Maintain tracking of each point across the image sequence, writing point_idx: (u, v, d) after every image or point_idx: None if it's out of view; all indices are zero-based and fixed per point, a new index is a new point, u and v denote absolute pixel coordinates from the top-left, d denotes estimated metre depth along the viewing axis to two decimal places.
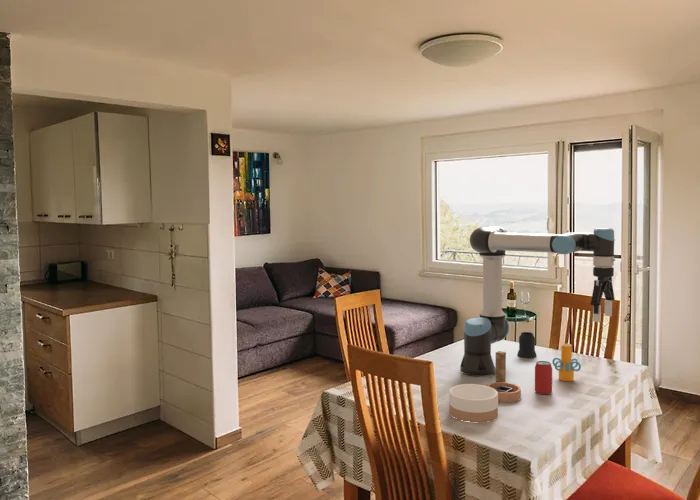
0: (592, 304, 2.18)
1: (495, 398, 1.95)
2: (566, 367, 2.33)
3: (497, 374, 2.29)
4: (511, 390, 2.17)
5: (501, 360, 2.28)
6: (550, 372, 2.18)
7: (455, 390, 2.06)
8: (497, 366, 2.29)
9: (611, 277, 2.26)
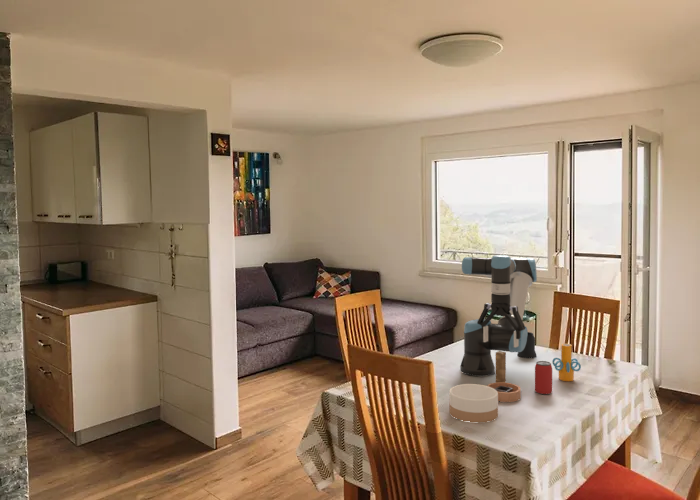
0: None
1: (495, 398, 1.95)
2: (566, 367, 2.33)
3: (497, 374, 2.29)
4: (511, 390, 2.17)
5: (501, 360, 2.28)
6: (550, 372, 2.18)
7: (455, 390, 2.06)
8: (497, 366, 2.29)
9: (513, 307, 2.22)
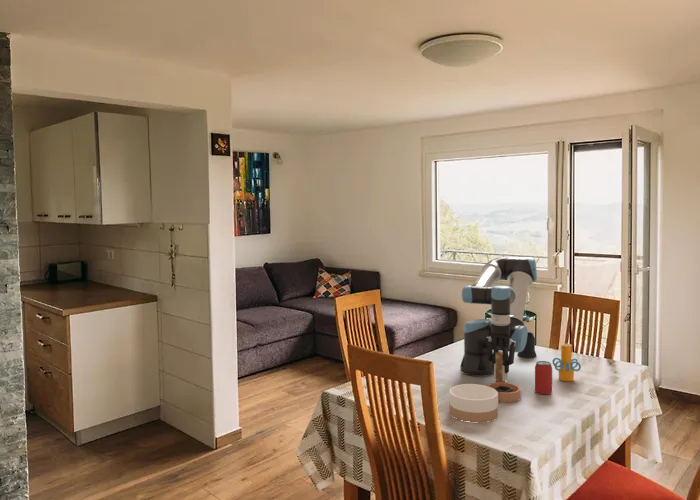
0: None
1: (495, 398, 1.95)
2: (566, 367, 2.33)
3: (497, 374, 2.29)
4: (511, 390, 2.17)
5: (501, 360, 2.28)
6: (550, 372, 2.18)
7: (455, 390, 2.06)
8: (497, 366, 2.29)
9: (512, 342, 2.24)
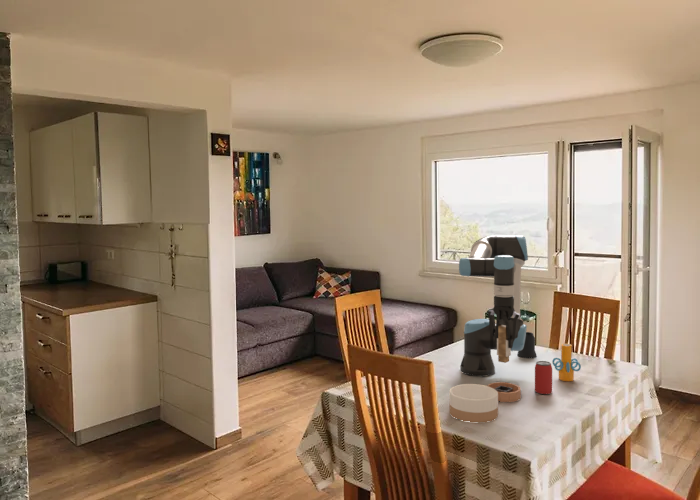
0: None
1: (495, 398, 1.95)
2: (566, 367, 2.33)
3: (500, 349, 2.15)
4: (511, 390, 2.17)
5: (504, 334, 2.13)
6: (550, 372, 2.18)
7: (455, 390, 2.06)
8: (500, 341, 2.15)
9: (517, 315, 2.10)
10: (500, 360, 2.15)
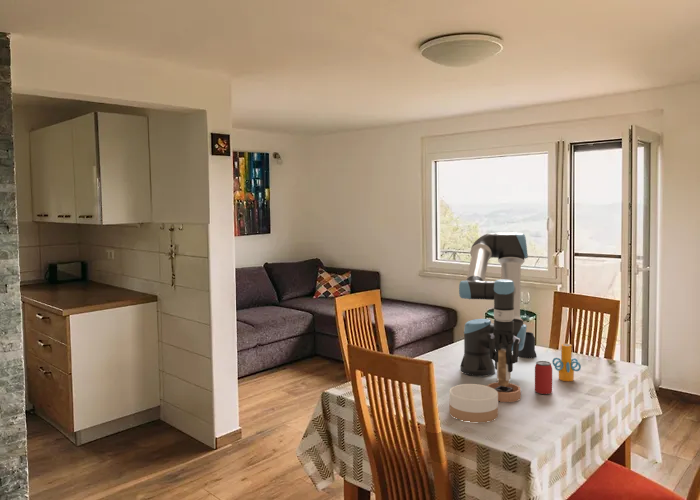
0: None
1: (495, 398, 1.95)
2: (566, 367, 2.33)
3: (500, 373, 2.16)
4: (511, 390, 2.17)
5: (504, 358, 2.14)
6: (550, 372, 2.18)
7: (455, 390, 2.06)
8: (500, 365, 2.16)
9: (516, 339, 2.10)
10: (500, 384, 2.16)
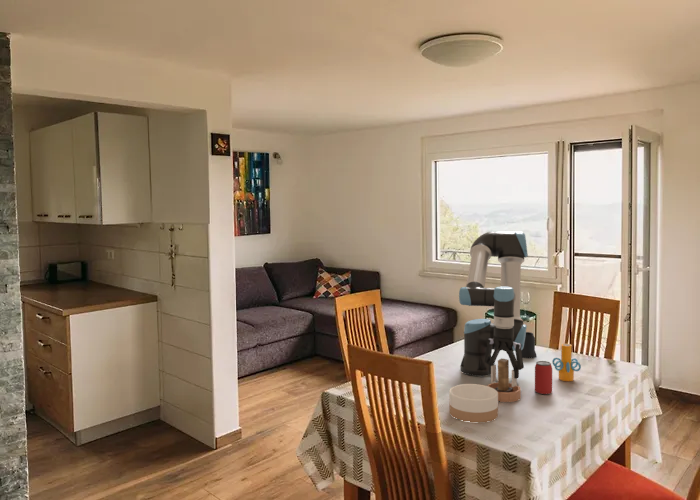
0: None
1: (495, 398, 1.95)
2: (566, 367, 2.33)
3: (500, 383, 2.16)
4: (511, 390, 2.17)
5: (504, 369, 2.14)
6: (550, 372, 2.18)
7: (455, 390, 2.06)
8: (500, 375, 2.16)
9: (517, 344, 2.11)
10: None
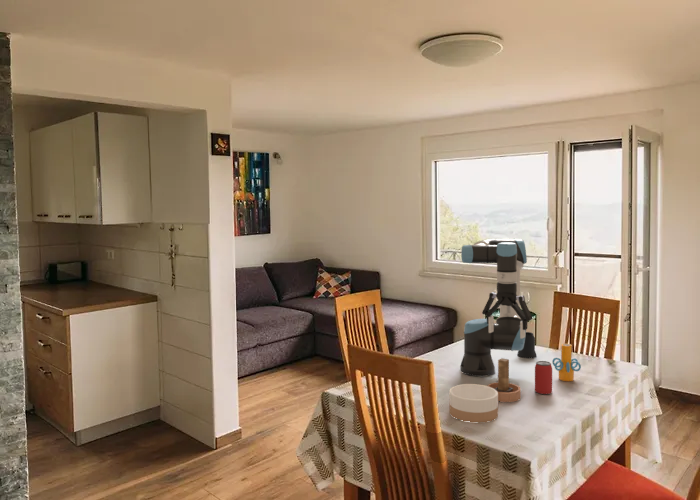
0: None
1: (495, 398, 1.95)
2: (566, 367, 2.33)
3: (500, 383, 2.16)
4: (511, 390, 2.17)
5: (504, 368, 2.15)
6: (550, 372, 2.18)
7: (455, 390, 2.06)
8: (500, 374, 2.16)
9: (519, 296, 2.12)
10: None
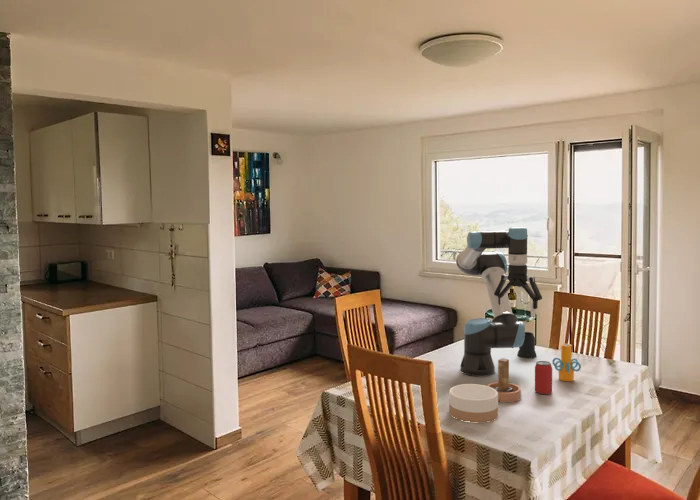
0: None
1: (495, 398, 1.95)
2: (566, 367, 2.33)
3: (500, 383, 2.16)
4: (511, 390, 2.17)
5: (504, 368, 2.15)
6: (550, 372, 2.18)
7: (455, 390, 2.06)
8: (500, 374, 2.16)
9: (530, 277, 2.26)
10: None
